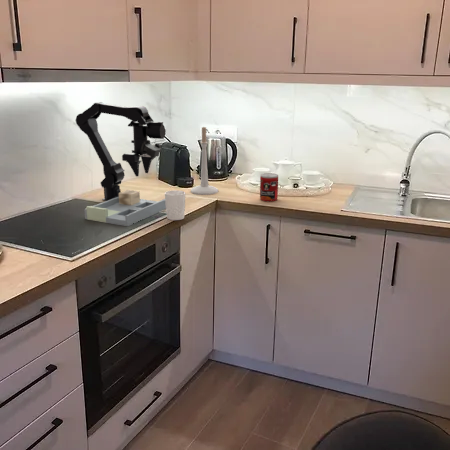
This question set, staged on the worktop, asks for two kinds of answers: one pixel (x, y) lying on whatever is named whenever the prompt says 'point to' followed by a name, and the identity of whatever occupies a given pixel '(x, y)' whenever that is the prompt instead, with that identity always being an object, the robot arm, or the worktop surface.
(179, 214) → the white cup
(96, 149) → the robot arm
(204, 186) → the candlestick
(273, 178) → the canned food
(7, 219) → the worktop surface
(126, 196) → the maple block
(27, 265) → the worktop surface
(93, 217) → the board
